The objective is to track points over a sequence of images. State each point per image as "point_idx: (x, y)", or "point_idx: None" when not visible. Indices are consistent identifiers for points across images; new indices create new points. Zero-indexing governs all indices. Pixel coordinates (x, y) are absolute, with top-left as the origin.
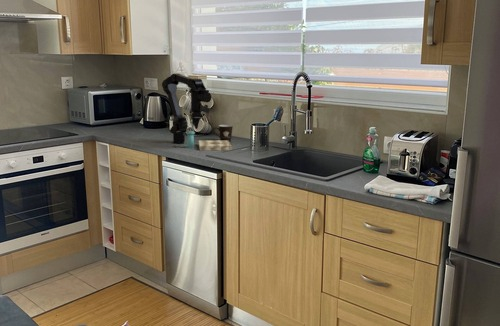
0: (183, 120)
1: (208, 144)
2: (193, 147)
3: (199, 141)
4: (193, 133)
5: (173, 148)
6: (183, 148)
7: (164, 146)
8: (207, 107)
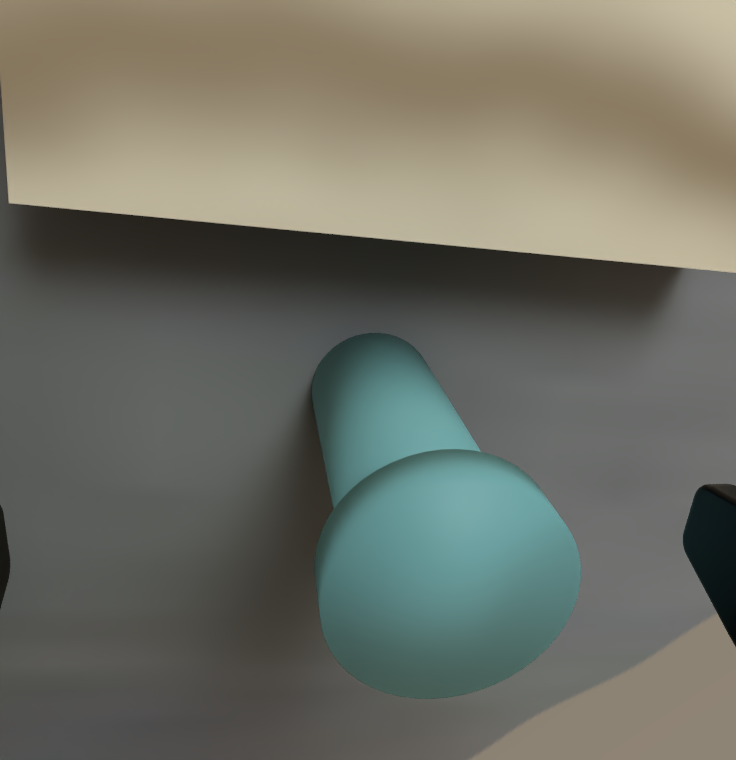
0: None
1: (636, 30)
2: (403, 340)
3: (177, 201)
4: (547, 502)
5: None
6: None
7: (231, 756)
8: None
